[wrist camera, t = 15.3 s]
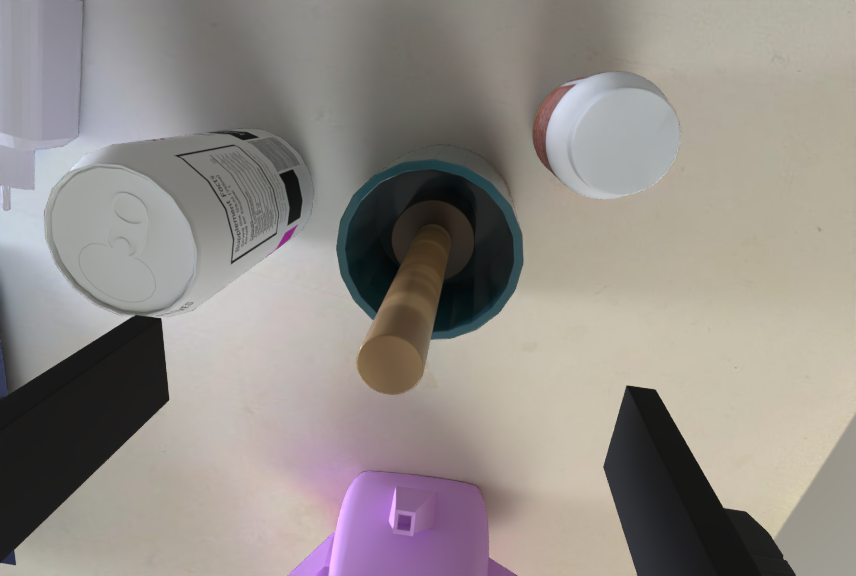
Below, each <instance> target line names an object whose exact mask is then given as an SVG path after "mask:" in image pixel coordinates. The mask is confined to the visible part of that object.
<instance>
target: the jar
mask: <svg viewBox="0 0 856 576" xmlns="http://www.w3.org/2000/svg"><path fill="white" fill-rule="evenodd" d="M434 186H444V187H449V188H452V189H454V190H456V191H458V192H460V193H461V194H462V195H464V196H465V197H466V198H467V199H468V201H469V202H470V204H471V205H472V207H473V210H474V212H475V217H476V232H475V247H474V252H473V255H472V257H471V259H470V261H469V263H468V264H467V266H466V267H465V268H464V269H463V270H462V271H461V272H460V273H458V274H457V275H455V276H453V277H451V278H449V279H446V280H443V284H442V289H441V294H440V298H439V303H438V307H437V312H436V317H435V321H434V326H433V330H432V335H431V340H434V339H451V338H455V337H457V336H460V335H463V334H466V333H469V332H471V331H474V330H477V329H479V328H480V327H481V326H483V325H484V324H485V323H487V322H488V321H489V320H491V319H492V318H493V317H495V316H496V315H497V314H499V312H500V311H501V310H502V309H503V307H504V306H505V304H506V303H507V301H508V300H509V299H510V297H511V296H512V294H513V293H514V291H515V289H516V287H517V283H518V280H519V276H520V273H521V270H522V266H523V239H522V232H521V228H520V225H519V221H518V218H517V214H516V211H515V207H514V204H513V201H512V198H511V196H510V193H509V190H508V188H507V186H506V183H505V181H504V180H503V179H502V177H501V176H500V174H499V173H498V172H497V171H496V169H495V168H494V167H493V166H492V165H491V164H490V163H489V162H487V161H486V160H485V159H484V158H482V157H481V156H479V155H478V154H476V153H473V152H471V151H469V150H467V149H464V148H461V147H456V146H451V145H431V146H426V147H421V148H418V149H416V150H413V151H411V152H409V153H407V154H405V155H403V156H401V157H399V158H398V159H396V160H395V161H393V162H392V163H391V164H389V165H388V166H386V167H385V168H384V169H382V170H381V171H379V172H378V173H377V174H375V175H374V176H373V177H372V178H371V179H370V180H369V181H368V182H367V183H365V184H364V185H363V186H362V187H361V188H360V189H359V190H358V191H357V192H356V193H355V194H354V195H353V197H352V199H351V201H350V203H349V205H348V206H347V208H346V210H345V212H344V214H343V216H342V218H341V221H340V226H339V233H338V239H337V246H336V250H337V256H338V262H339V268H340V273H341V277H342V279H343V281H344V282H345V284H346V286H347V288H348V290H349V292H350V294H351V296H352V298H353V300H354V301H355V302H356V303H357V304H358V305H359V306H360V307H361V308H362V309H363V310H364V311H365V312H366V313H367V314H368V315H369V316H370V317H371V319H373V320H374V319H375V317H376V315H377V313H378V311H379V309H380V307H381V305H382V302H383V300H384V298H385V296H386V294H387V292H388V290H389V288H390V286H391V284H392V282H393V280H394V278H395V276H396V274H397V272H398V270H399V268H400V266H401V265H400V264H399V262H398V261H397V259H396V257H395V255H394V252H393V248H392V231H393V227H394V225H395V222H396V220H397V219H398V217H399V216H400V214H401V213H402V211H403V210H404V209H405V207H406V206H407V204H408V203H409V202H410V200H411V199H412V198H413V197H414V196H415V195H416V194H417V193H419V192H420V191H422V190H424V189H426V188H429V187H434Z"/></svg>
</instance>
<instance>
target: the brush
mask: <svg viewBox="0 0 856 576" xmlns="http://www.w3.org/2000/svg"><path fill="white" fill-rule="evenodd" d="M475 232H476V217H475V212H474V210H473V207H472V205H471V204H470V202H469V201H468V199H467V198H466V197H465V196H464V195H462V194H461V193H460V192H458V191H456V190H454V189H452V188H449V187H444V186H434V187H429V188H426V189H424V190H422V191H420V192H419V193H417V194H416V195H415V196H414V197H413V198H412V199H411V200H410V202H409V203H408V204H407V206H406V207H405V209H404V210H403V211H402V213H401V214H400V216H399V217H398V219H397V220H396V222H395V225H394V227H393V231H392V248H393V252H394V255H395V257H396V259H397V261H398V262H399V264H400V265H401V266H400V268H399V270H398V272H397V274H396V276H395V278H394V280H393V282H392V284H391V286H390V288H389V290H388V292H387V294H386V296H385V298H384V300H383V302H382V305H381V307H380V309H379V311H378V313H377V315H376V317H375V319H374V321H373V323H372V325H371V327H370V329H369V331H368V333H367V335H366V337H365V339H364V341H363V343H362V345H361V347H360V349H359V352H358V355H357V369H358V372H359V374H360V376H361V378H362V379H363V381H364V382H365V383H366V384H367V385H368V386H369V387H371V388H372V389H374V390H376V391H378V392H381V393H384V394H391V395H394V394H401V393H405V392H407V391H409V390H411V389H412V388H414V387H415V386H416V385H417V384H418V383H419V381H420V380H421V378H422V375H423V372H424V367H425V363H426V358H427V354H428V349H429V344H430V340H431V335H432V330H433V326H434V321H435V317H436V312H437V307H438V303H439V298H440V294H441V289H442V284H443V280H446V279H449V278H451V277H453V276H455V275H457V274H458V273H460V272H461V271H462V270H463V269H464V268H465V267H466V266H467V264H468V263H469V261H470V259H471V257H472V255H473V252H474V247H475Z"/></svg>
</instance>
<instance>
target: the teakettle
mask: <svg viewBox="0 0 856 576" xmlns="http://www.w3.org/2000/svg"><path fill="white" fill-rule="evenodd" d="M288 576H517V575H516V574H514V573H513V572H511V571H510V570H508V569H506V568H505V567H503V566H502V565H500V564H498V563H497V562H495V561H494V560H492V559H490V558H489V532H488V519H487V511H486V506H485V503H484V500H483V497H482V494H481V493H480V491H479V489H478V487H476V486H475V485H472V484H469V483H464V482H459V481H454V480H447V479H440V478H434V477H426V476H419V475H410V474H401V473H390V472H377V471H365V472H362V473H361V474H360V475H359V476H358V477H357V478H356V479H355V480H354V481H353V482H352V484H351V485H350V487H349V489H348V491H347V493H346V495H345V498H344V501H343V504H342V508H341V511H340V515H339V519H338V524H337V528H336V532H335V533H332V534H331V535H330V536H329V537H328V538H327V539H326V540H325V541H324V542H323V543H322V544H320V545H319V546H318V547H317V548H316V549H315V550H314V551H313V552H312V553H311V554H310V555H309V556H308V557H307V558H306V559H305V560H303V561H302V562H301V563H300V564H299V565H298V566H297V567H296V568H295V569H294V570H293V571H292V572H291V573H290V574H289V575H288Z"/></svg>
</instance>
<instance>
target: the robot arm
mask: <svg viewBox="0 0 856 576" xmlns="http://www.w3.org/2000/svg"><path fill="white" fill-rule="evenodd" d="M168 401H169V392H168V382H167V372H166V361H165V351H164V341H163V331H162V321H161V318H155V317H148V316H141V315H135V316H133V317H131V318H130V319H128V320H127V321H125V322H123V323H122V324H120V325H119V326H117V327H115V328H114V329H112V330H111V331H109V332H108V333H106V334H104V335H103V336H101V337H100V338H98V339H96V340H95V341H93V342H92V343H90V344H89V345H87V346H85V347H84V348H82V349H81V350H79V351H77V352H76V353H74V354H73V355H71V356H69V357H68V358H66V359H65V360H63V361H62V362H60V363H58V364H57V365H55V366H54V367H52V368H50V369H49V370H47V371H46V372H44V373H42V374H41V375H39V376H38V377H36V378H35V379H33V380H31V381H30V382H28V383H27V384H25V385H23V386H22V387H20V388H19V389H17V390H15V391H14V392H12V393H11V394H9V395H8V396H6V397H3V396H2V397H0V563H1V562H2V561H3V560H4V559H5V558H6V557H7V556H8V555H9V554H10V553H11V552H12V551H13V550H14V549H16V548H17V547H18V546H19V545H20V544H21V543H22V542H23V541H24V540H25V539H26V538H27V537H28V536H29V535H30V534H31V533H32V532H33V531H34V530H35V529H36V528H37V527H38V526H39V525H40V524H41V523H42V522H43V521H45V520H46V519H47V518H48V517H49V516H50V515H51V514H52V513H53V512H54V511H55V510H56V509H57V508H58V507H59V506H60V505H61V504H62V503H63V502H64V501H65V500H66V499H67V498H68V497H69V496H70V495H71V494H72V493H74V492H75V491H76V490H77V489H78V488H79V487H80V486H81V485H82V484H83V483H84V482H85V481H86V480H87V479H88V478H89V477H90V476H91V475H92V474H93V473H94V472H95V471H96V470H97V469H98V468H99V467H100V466H101V465H102V464H104V463H105V462H106V461H107V460H108V459H109V458H110V457H111V456H112V455H113V454H114V453H115V452H116V451H117V450H118V449H119V448H120V447H121V446H122V445H123V444H124V443H125V442H126V441H127V440H128V439H129V438H130V437H131V436H133V435H134V434H135V433H136V432H137V431H138V430H139V429H140V428H141V427H142V426H143V425H144V424H145V423H146V422H147V421H148V420H149V419H150V418H151V417H152V416H153V415H154V414H155V413H156V412H157V411H158V410H159V409H160V408H162V407H163V406H164V405H165V404H166V403H167V402H168ZM603 467H604V471H605V474H606V477H607V480H608V483H609V486H610V490H611V493H612V496H613V499H614V502H615V506H616V509H617V512H618V515H619V518H620V521H621V525H622V528H623V531H624V534H625V537H626V540H627V544H628V547H629V550H630V553H631V556H632V560H633V563H634V566H635V569H636V572H637V575H638V576H796V575H795V573H794V571H793V570H792V568H791V567H790V565H789V564H788V562H787V561H786V560H784V559H783V554H782V553H781V551H780V550H779V548H778V547H777V545H776V544H775V542H774V540H773V539H772V537H771V536H770V534H769V533H768V532H767V531H766V530H765V529H764V528H763V527H762V526H761V525H760V524H759V523H758V522H757V521H755V520H754V519H753V518H752V517H751V516H750V515H749V514H748V513H747V512H745V511H739V510H733V509H726V508H723V506H722V504H721V503H720V501H719V499H718V498H717V496H716V494H715V492H714V491H713V489H712V487H711V485H710V484H709V482H708V480H707V478H706V477H705V475H704V473H703V471H702V470H701V468H700V466H699V464H698V463H697V461H696V459H695V457H694V456H693V454H692V452H691V450H690V449H689V447H688V445H687V444H686V442H685V440H684V438H683V437H682V435H681V433H680V431H679V430H678V428H677V426H676V424H675V423H674V421H673V419H672V417H671V416H670V414H669V412H668V410H667V409H666V407H665V405H664V403H663V402H662V400H661V398H660V396H659V395H658V393H657V391H656V390H655V389H648V388H641V387H634V386H626V390H625V393H624V397H623V400H622V403H621V407H620V410H619V414H618V417H617V421H616V424H615V428H614V431H613V435H612V438H611V442H610V445H609V449H608V452H607V456H606V459H605V463H604V466H603Z"/></svg>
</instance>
